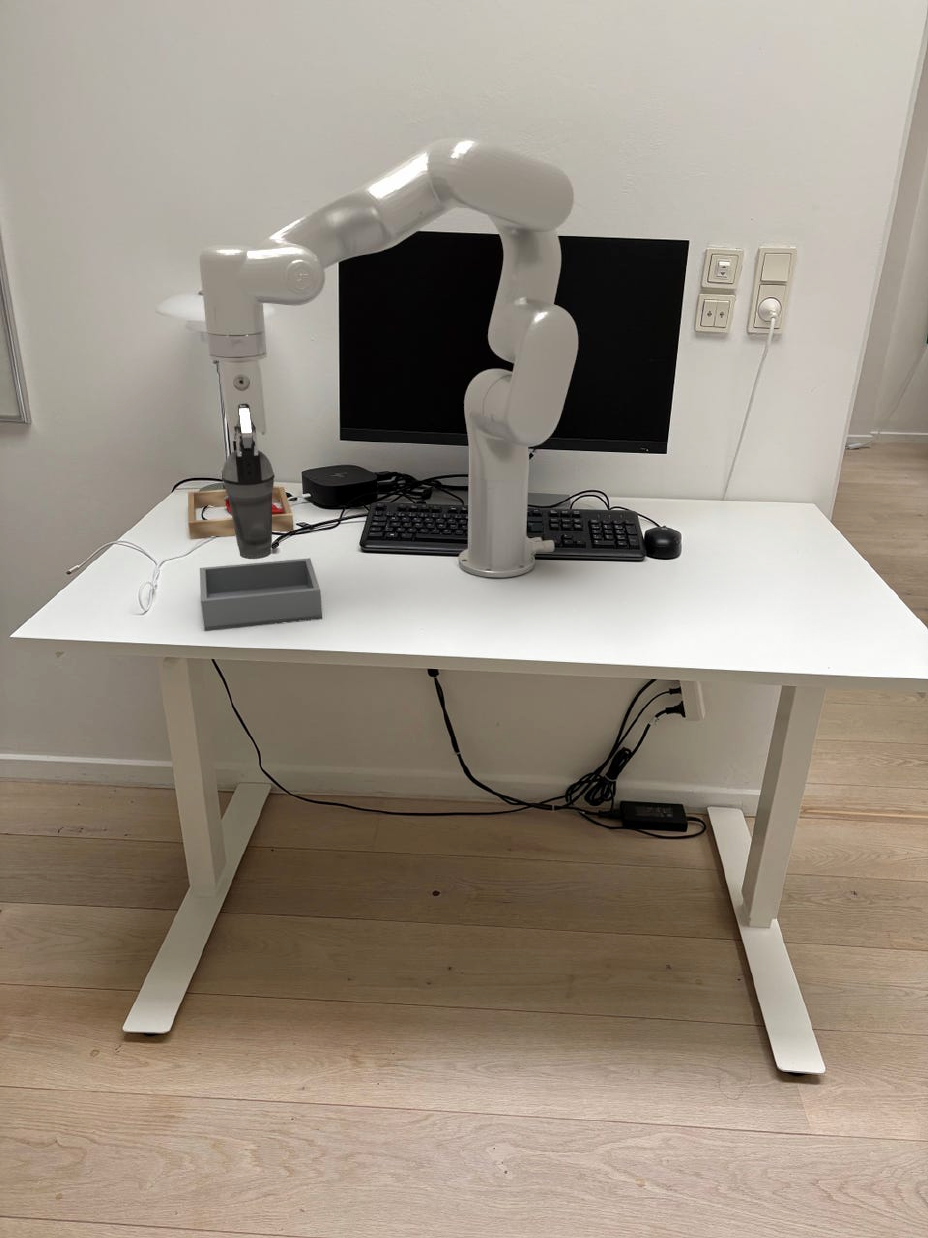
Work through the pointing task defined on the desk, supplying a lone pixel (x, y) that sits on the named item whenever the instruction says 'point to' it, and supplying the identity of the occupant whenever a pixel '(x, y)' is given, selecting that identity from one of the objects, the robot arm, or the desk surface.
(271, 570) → the charcoal tray
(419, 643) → the desk surface
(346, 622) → the desk surface
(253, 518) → the beverage cup
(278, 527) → the oak organiser frame
